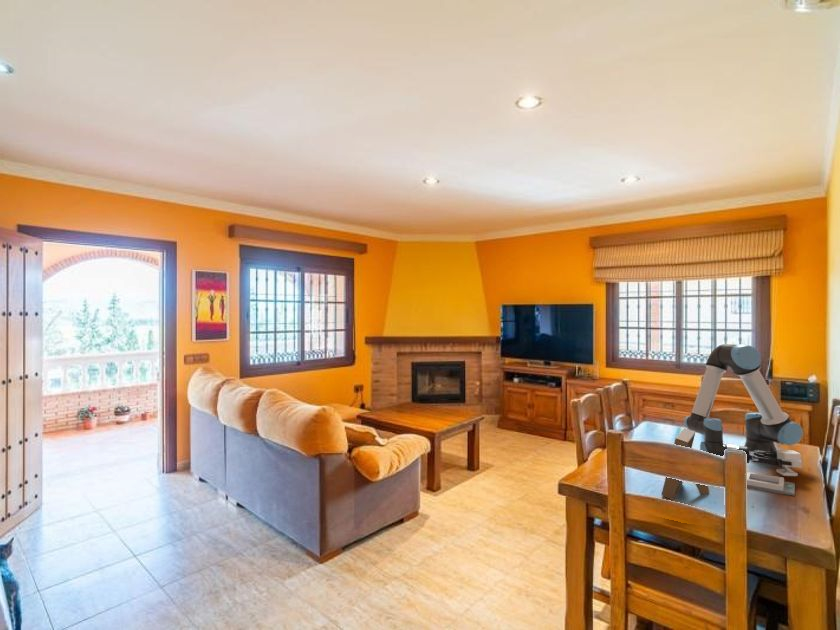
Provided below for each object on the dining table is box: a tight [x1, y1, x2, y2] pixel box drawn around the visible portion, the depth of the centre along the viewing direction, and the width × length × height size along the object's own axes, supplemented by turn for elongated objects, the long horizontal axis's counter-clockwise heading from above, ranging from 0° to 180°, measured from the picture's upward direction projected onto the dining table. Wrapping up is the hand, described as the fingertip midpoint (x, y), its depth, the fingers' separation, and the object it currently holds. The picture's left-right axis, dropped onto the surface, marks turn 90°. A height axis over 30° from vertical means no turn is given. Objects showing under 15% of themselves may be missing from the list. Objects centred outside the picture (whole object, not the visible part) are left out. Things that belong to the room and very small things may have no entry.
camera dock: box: [746, 471, 796, 497], centre depth 188 cm, size 15×20×3 cm
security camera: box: [776, 449, 802, 477], centre depth 196 cm, size 6×7×10 cm
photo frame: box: [661, 427, 710, 501], centre depth 182 cm, size 15×22×25 cm
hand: (801, 461), depth 193 cm, fingers closed on security camera, 8 cm apart
